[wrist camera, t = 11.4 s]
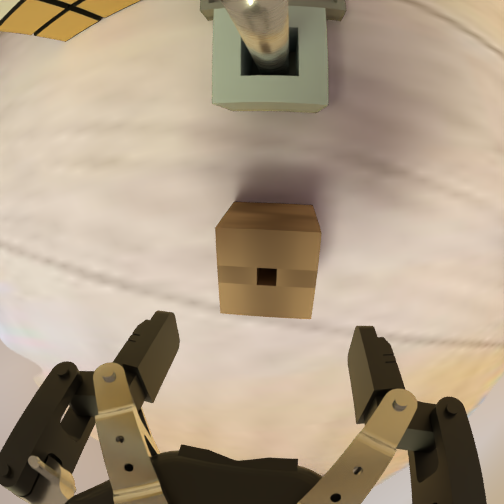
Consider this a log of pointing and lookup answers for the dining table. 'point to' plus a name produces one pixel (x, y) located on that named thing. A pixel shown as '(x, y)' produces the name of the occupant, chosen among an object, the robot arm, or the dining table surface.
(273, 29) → the cylinder
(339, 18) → the tray
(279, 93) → the slate block
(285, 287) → the brown cardboard cube
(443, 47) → the dining table surface
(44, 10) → the puzzle cube
